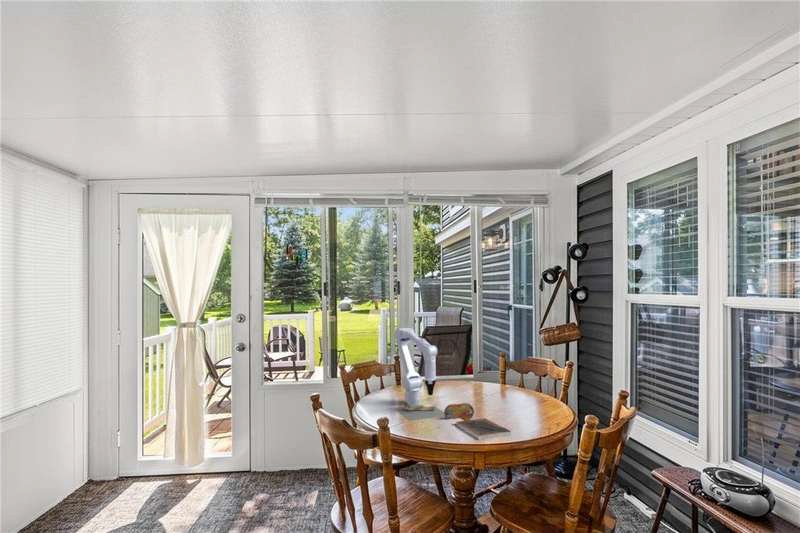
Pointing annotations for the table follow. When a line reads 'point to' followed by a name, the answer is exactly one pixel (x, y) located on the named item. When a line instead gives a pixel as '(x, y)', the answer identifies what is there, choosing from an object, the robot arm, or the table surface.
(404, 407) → the link
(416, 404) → the keeper
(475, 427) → the picture frame
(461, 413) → the tin
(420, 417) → the board
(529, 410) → the table surface
